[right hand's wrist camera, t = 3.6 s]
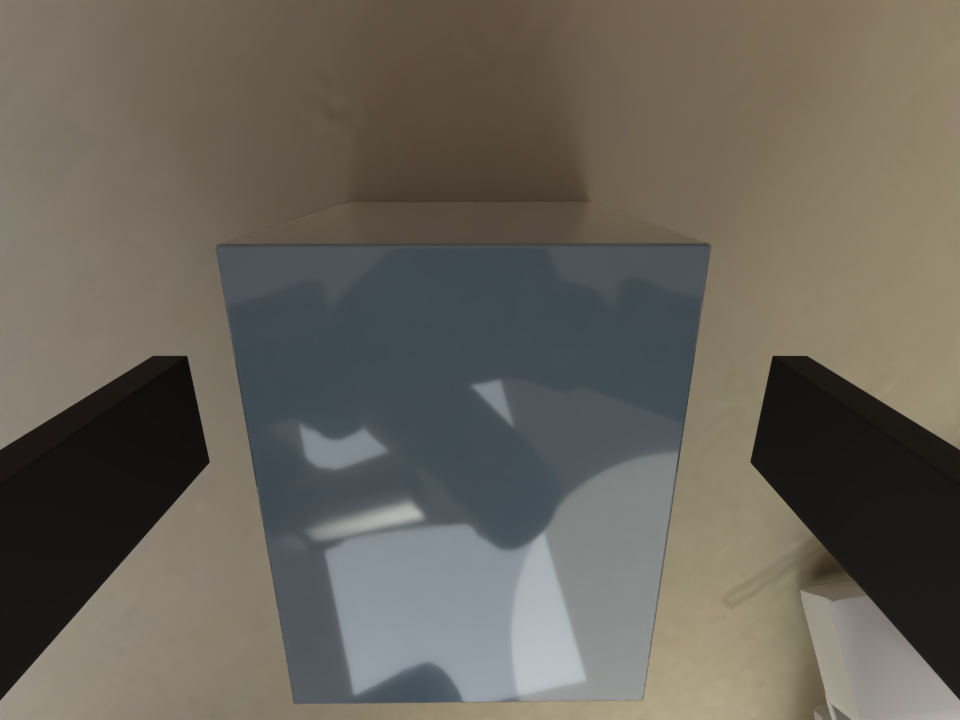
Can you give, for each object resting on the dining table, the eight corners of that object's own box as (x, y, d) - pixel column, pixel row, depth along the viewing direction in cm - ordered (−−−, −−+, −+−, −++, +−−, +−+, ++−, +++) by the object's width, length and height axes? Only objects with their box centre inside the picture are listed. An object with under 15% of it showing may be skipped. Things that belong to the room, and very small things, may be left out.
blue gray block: (590, 201, 15) (712, 244, 7) (571, 472, 18) (644, 701, 11) (347, 201, 15) (214, 244, 7) (369, 473, 18) (293, 706, 11)
